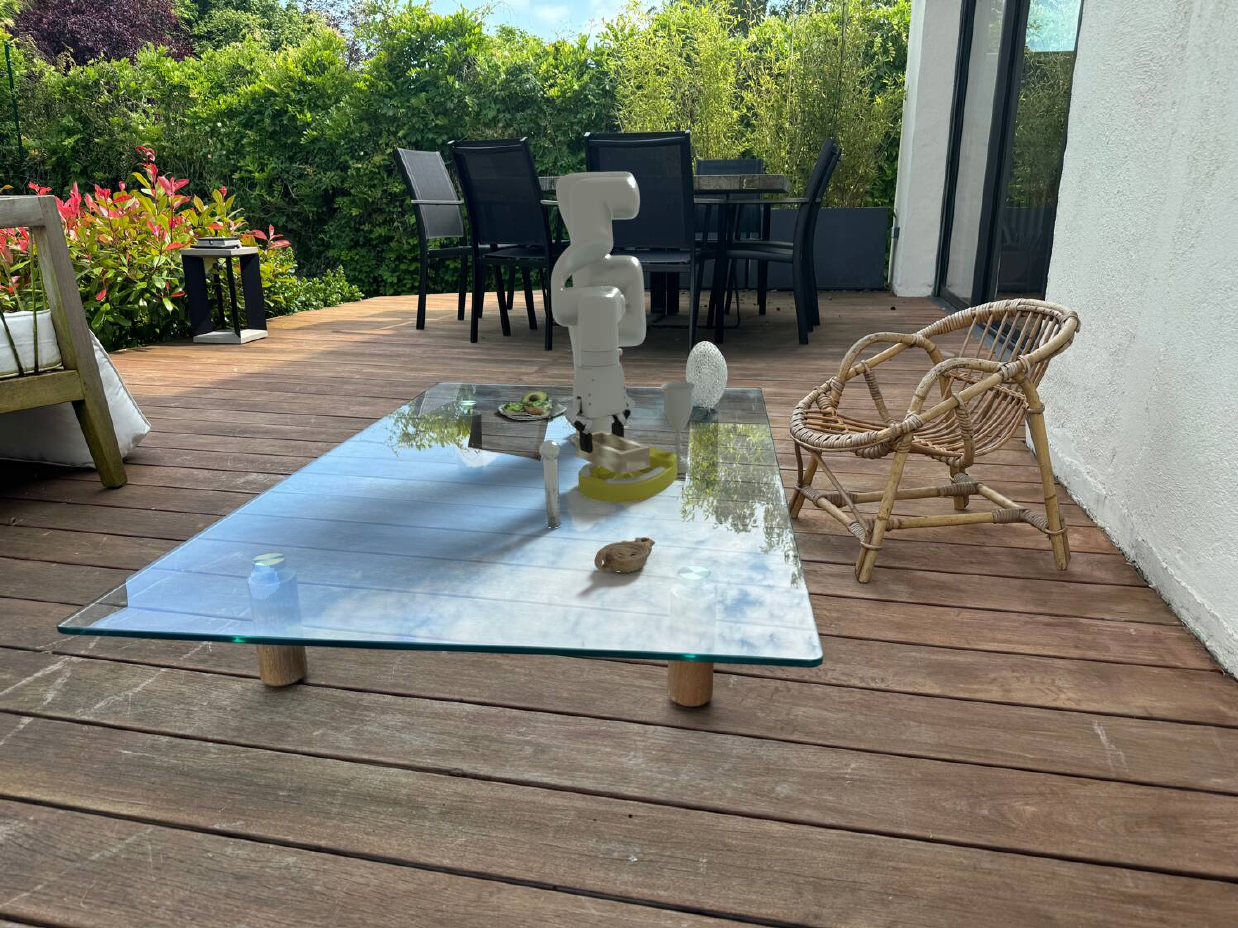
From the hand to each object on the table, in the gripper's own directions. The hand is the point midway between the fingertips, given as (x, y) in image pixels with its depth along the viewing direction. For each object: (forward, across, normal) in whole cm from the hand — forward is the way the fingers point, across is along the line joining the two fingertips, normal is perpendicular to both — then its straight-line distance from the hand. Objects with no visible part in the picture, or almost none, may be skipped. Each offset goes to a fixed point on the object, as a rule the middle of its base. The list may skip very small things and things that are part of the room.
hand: (602, 446), depth 167 cm
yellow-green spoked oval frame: (+9, -4, +2) cm, 10 cm away
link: (+2, 0, +3) cm, 4 cm away
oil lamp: (+9, +20, +33) cm, 39 cm away
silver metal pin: (+8, +19, +11) cm, 23 cm away
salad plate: (+9, -21, -61) cm, 65 cm away
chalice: (+8, -18, +2) cm, 20 cm away
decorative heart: (+8, -57, -32) cm, 66 cm away
